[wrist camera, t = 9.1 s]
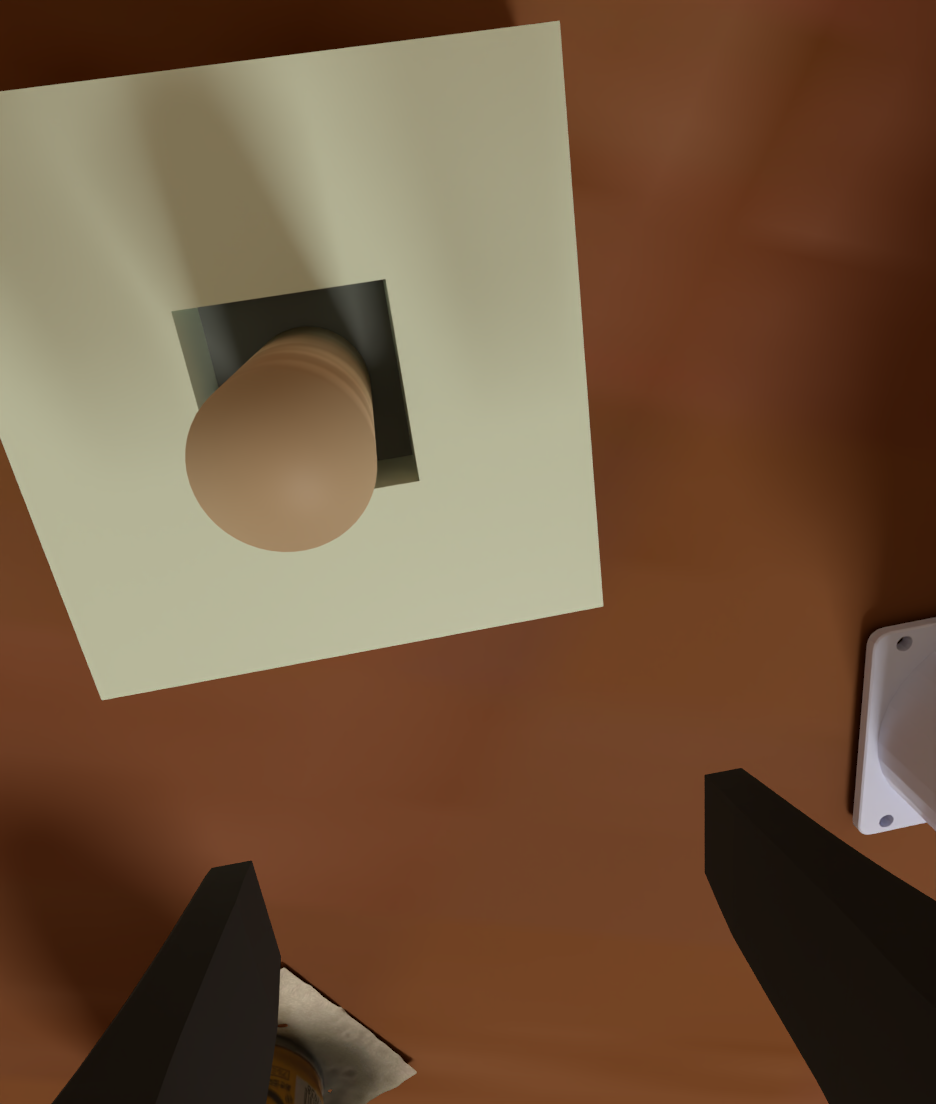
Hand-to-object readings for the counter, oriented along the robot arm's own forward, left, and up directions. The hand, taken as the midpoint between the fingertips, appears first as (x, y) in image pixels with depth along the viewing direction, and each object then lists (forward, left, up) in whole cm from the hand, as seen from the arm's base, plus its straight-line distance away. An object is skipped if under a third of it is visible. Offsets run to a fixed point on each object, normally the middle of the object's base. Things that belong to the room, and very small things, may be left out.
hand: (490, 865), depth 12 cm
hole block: (+2, -7, -10) cm, 12 cm away
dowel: (+2, -6, -9) cm, 11 cm away
